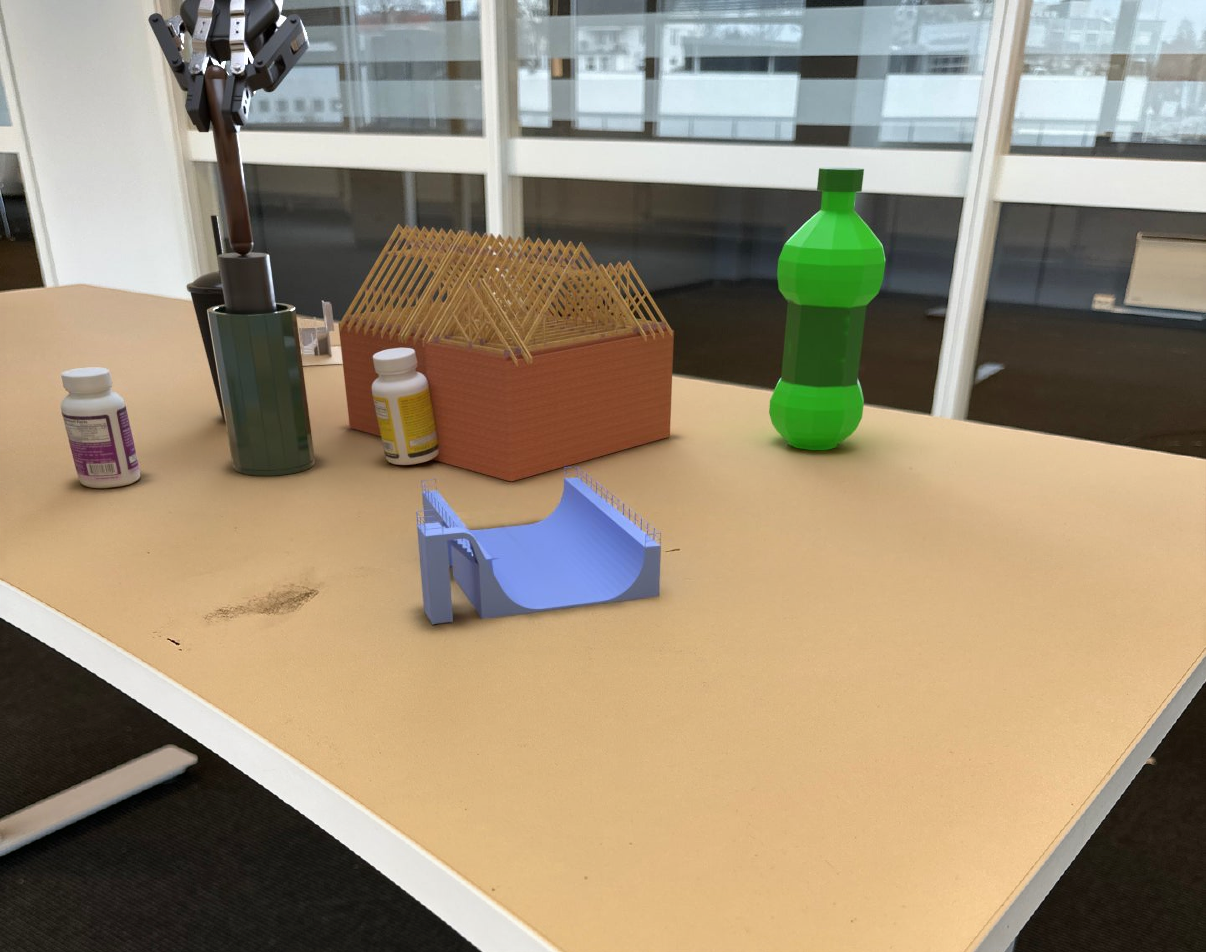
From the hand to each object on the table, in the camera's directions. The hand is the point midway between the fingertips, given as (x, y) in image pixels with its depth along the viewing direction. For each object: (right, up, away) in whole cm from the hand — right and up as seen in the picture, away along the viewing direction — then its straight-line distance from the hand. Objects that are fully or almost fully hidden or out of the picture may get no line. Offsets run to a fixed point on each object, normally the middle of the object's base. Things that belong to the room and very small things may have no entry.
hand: (214, 124), depth 91 cm
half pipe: (+25, -38, -7) cm, 46 cm away
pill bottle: (-14, -26, +12) cm, 32 cm away
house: (+21, -17, +28) cm, 38 cm away
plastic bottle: (+54, -18, +25) cm, 62 cm away
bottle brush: (0, -12, +10) cm, 16 cm away
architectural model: (-9, +4, +60) cm, 61 cm away
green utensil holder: (0, -23, +17) cm, 28 cm away
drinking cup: (-8, -13, +33) cm, 36 cm away
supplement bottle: (+13, -22, +19) cm, 31 cm away
